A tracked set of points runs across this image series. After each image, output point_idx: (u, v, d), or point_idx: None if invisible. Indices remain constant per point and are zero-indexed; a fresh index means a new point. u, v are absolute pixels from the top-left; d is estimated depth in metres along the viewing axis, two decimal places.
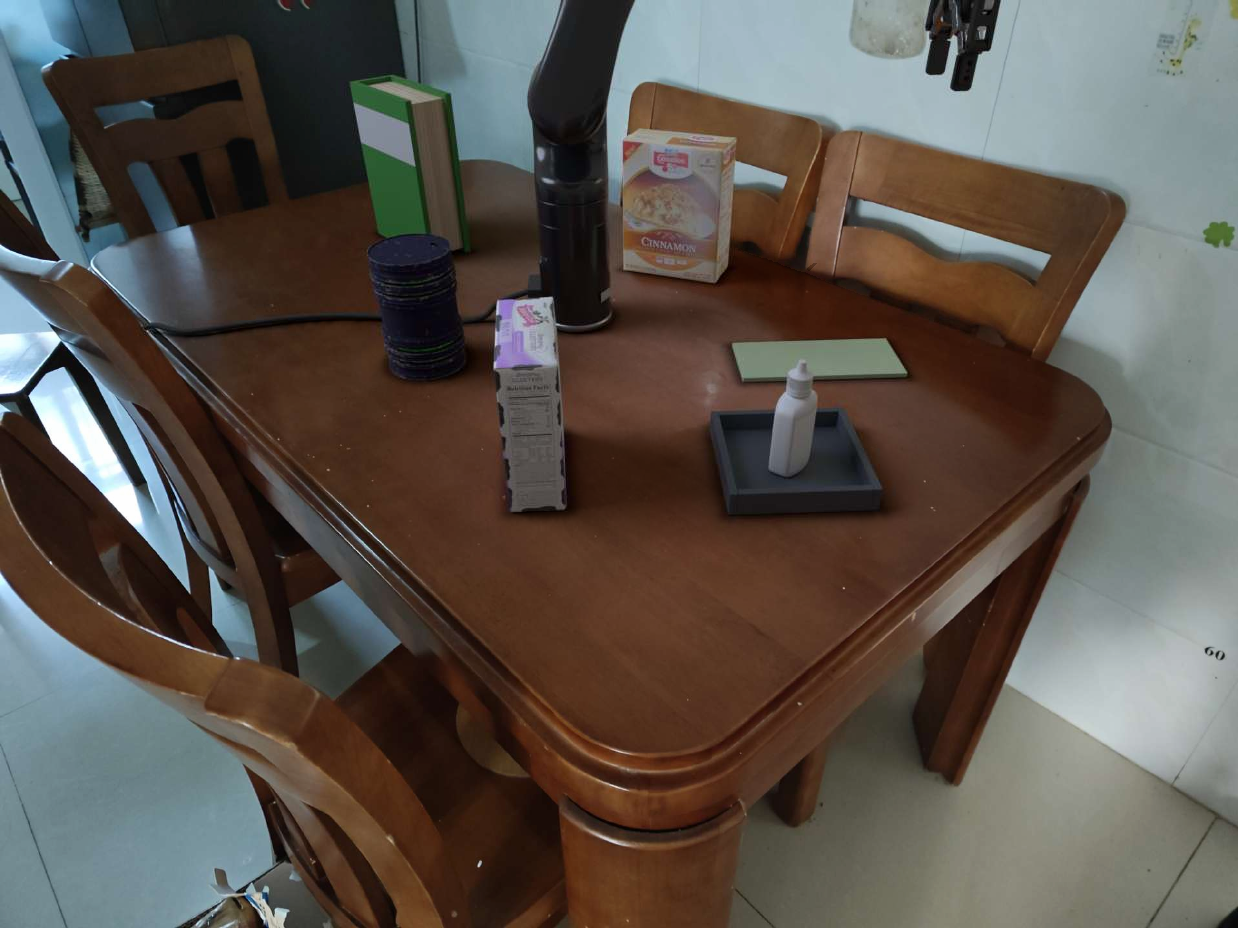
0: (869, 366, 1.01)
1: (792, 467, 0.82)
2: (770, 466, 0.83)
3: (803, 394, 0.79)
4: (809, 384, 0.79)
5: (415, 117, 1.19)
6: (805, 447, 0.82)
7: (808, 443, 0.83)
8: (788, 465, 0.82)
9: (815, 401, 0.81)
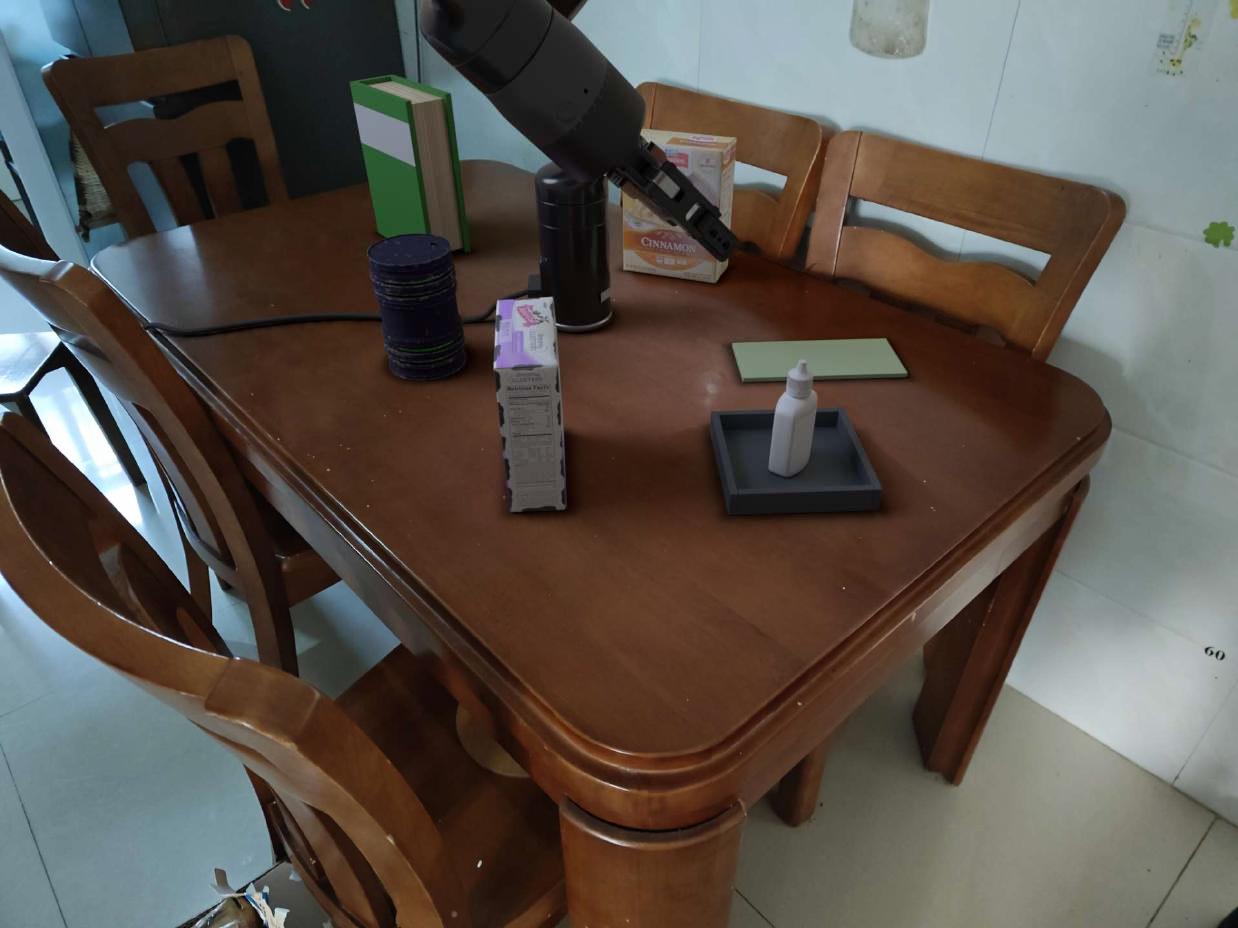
0: (869, 366, 1.01)
1: (792, 467, 0.82)
2: (770, 466, 0.83)
3: (803, 394, 0.79)
4: (809, 384, 0.79)
5: (415, 117, 1.19)
6: (805, 447, 0.82)
7: (808, 443, 0.83)
8: (788, 465, 0.82)
9: (815, 401, 0.81)
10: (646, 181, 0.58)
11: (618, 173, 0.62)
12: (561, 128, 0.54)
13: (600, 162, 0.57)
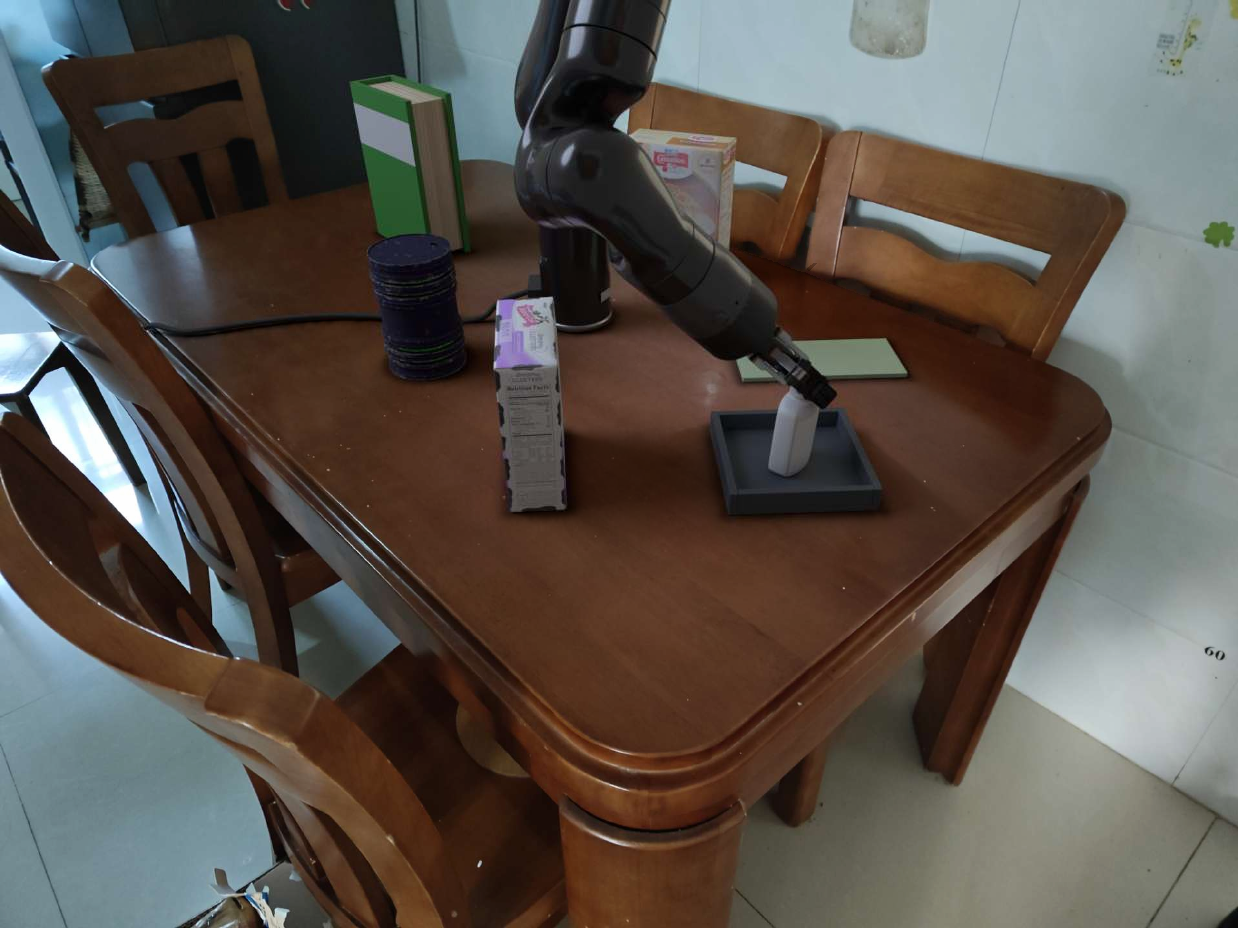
0: (869, 366, 1.01)
1: (792, 467, 0.82)
2: (770, 465, 0.83)
3: None
4: None
5: (415, 117, 1.19)
6: (806, 448, 0.82)
7: (809, 444, 0.83)
8: (788, 465, 0.82)
9: None
10: (778, 364, 0.72)
11: None
12: (714, 329, 0.68)
13: (741, 350, 0.70)
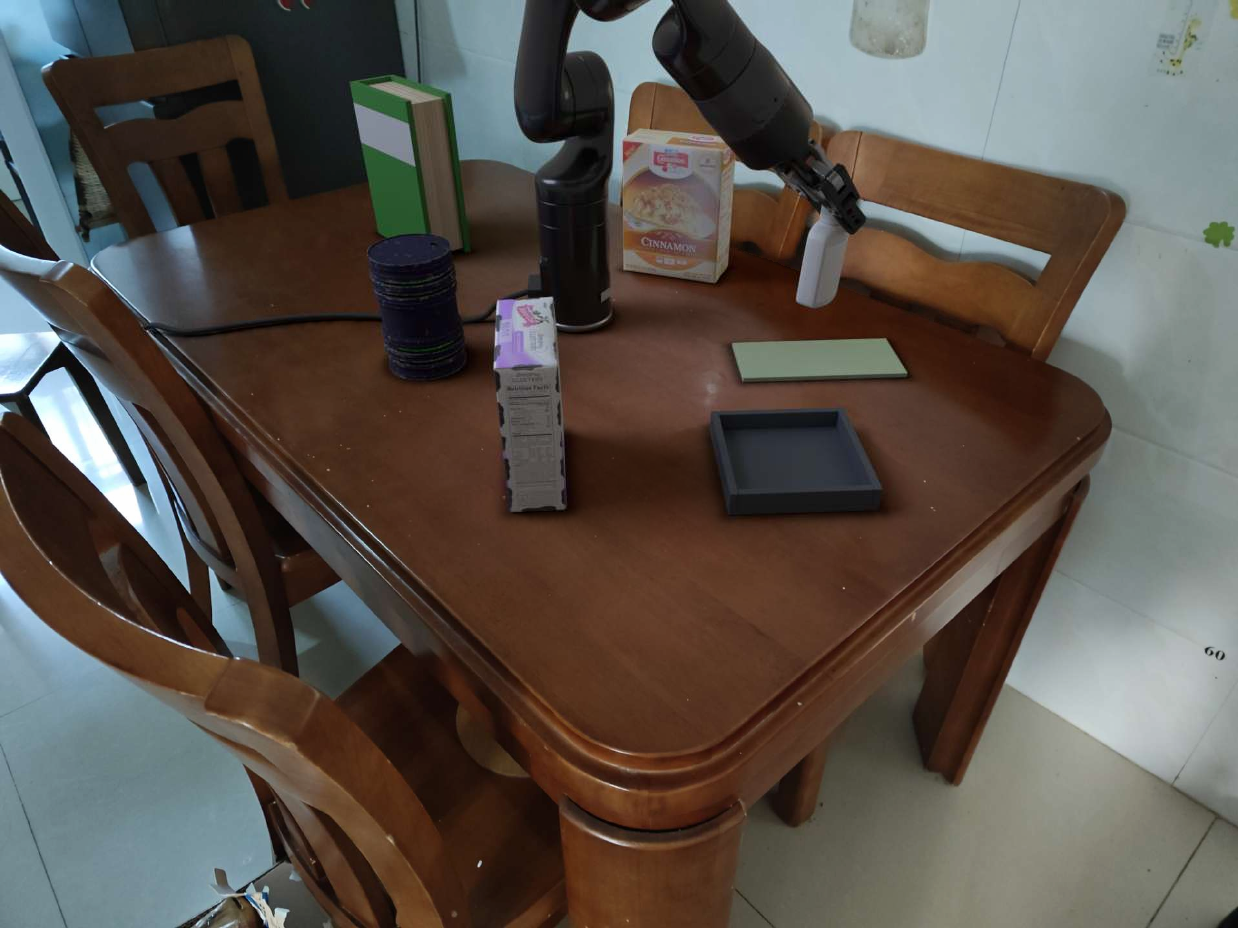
0: (869, 366, 1.01)
1: (819, 298, 0.85)
2: (798, 297, 0.86)
3: (836, 221, 0.81)
4: None
5: (415, 117, 1.19)
6: (833, 279, 0.85)
7: (836, 275, 0.85)
8: (816, 295, 0.84)
9: None
10: (813, 173, 0.74)
11: (781, 164, 0.78)
12: (753, 128, 0.70)
13: (777, 155, 0.73)
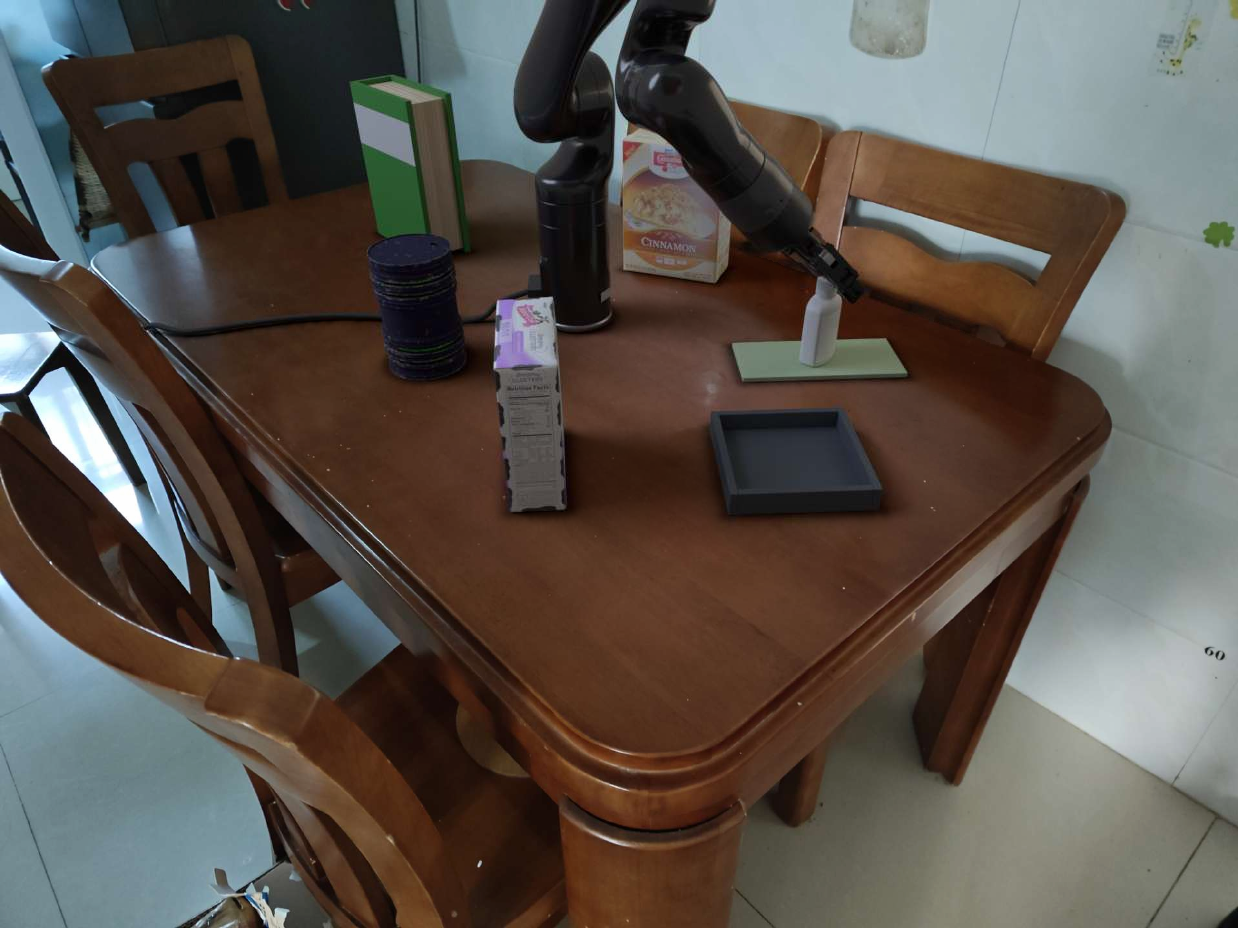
0: (869, 366, 1.01)
1: (818, 358, 1.00)
2: (800, 357, 1.01)
3: (829, 295, 0.97)
4: None
5: (415, 117, 1.19)
6: (830, 342, 1.00)
7: (832, 339, 1.00)
8: (815, 356, 1.00)
9: (839, 302, 0.98)
10: (811, 254, 0.89)
11: None
12: (763, 223, 0.85)
13: (783, 242, 0.88)
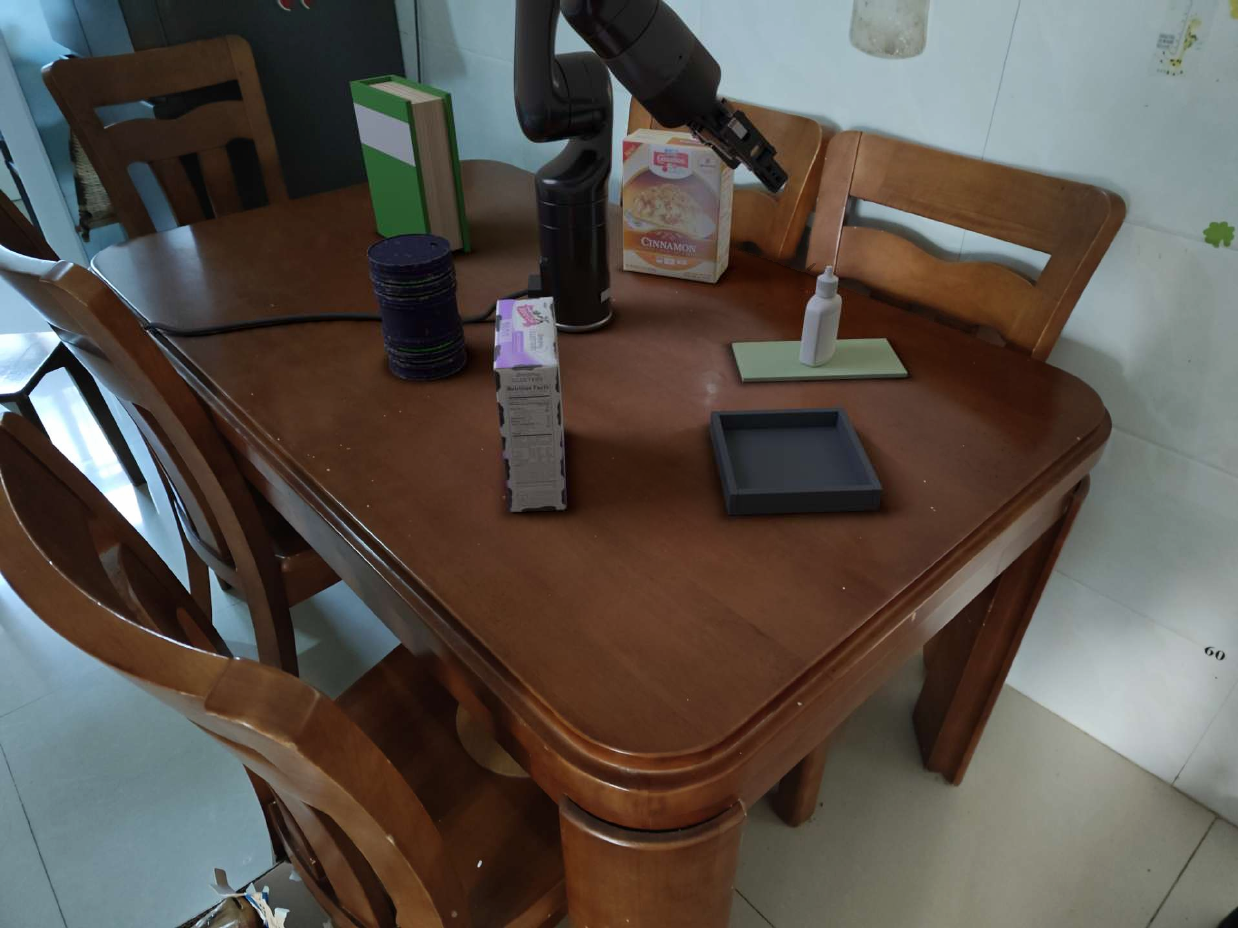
0: (869, 366, 1.01)
1: (818, 358, 1.00)
2: (800, 357, 1.01)
3: (829, 295, 0.97)
4: (834, 286, 0.96)
5: (415, 117, 1.19)
6: (830, 342, 1.00)
7: (832, 339, 1.00)
8: (815, 356, 1.00)
9: (839, 302, 0.98)
10: (720, 127, 0.77)
11: (696, 123, 0.81)
12: (660, 85, 0.73)
13: (687, 112, 0.76)
